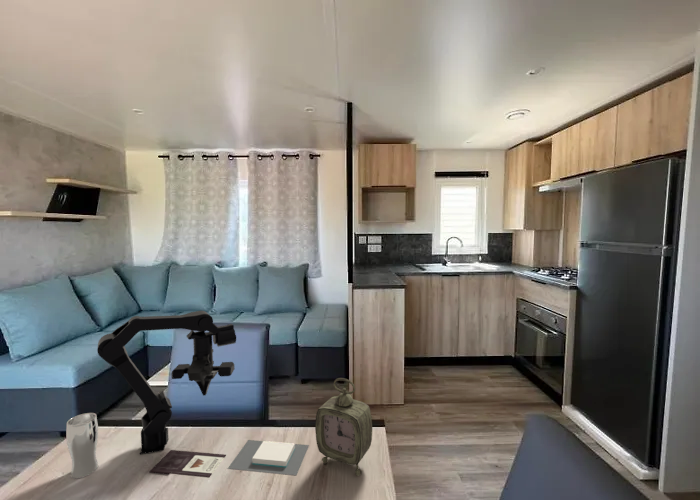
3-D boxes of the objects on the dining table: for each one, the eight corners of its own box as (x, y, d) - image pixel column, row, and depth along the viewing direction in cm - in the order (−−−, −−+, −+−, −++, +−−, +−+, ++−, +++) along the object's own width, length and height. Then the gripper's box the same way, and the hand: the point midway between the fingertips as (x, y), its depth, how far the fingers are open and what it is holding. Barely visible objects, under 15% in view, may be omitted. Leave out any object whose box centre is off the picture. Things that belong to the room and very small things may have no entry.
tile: (252, 458, 96) (285, 461, 94) (263, 440, 104) (294, 443, 102) (252, 464, 96) (286, 467, 94) (263, 446, 104) (294, 449, 102)
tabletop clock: (315, 465, 96) (314, 379, 94) (332, 446, 104) (330, 367, 102) (361, 482, 89) (360, 390, 88) (375, 461, 97) (374, 376, 96)
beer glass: (73, 466, 96) (70, 415, 95) (103, 459, 99) (100, 410, 98) (64, 482, 90) (61, 428, 89) (96, 475, 93) (93, 422, 92)
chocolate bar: (170, 449, 102) (226, 454, 100) (171, 452, 102) (226, 457, 100) (149, 471, 93) (209, 476, 91) (149, 474, 94) (209, 480, 91)
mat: (227, 469, 94) (227, 468, 94) (248, 441, 107) (248, 439, 107) (296, 476, 91) (296, 475, 91) (309, 446, 104) (309, 445, 104)
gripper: (162, 359, 103) (164, 409, 104) (225, 357, 105) (227, 405, 106) (177, 347, 114) (179, 392, 115) (234, 345, 116) (235, 389, 117)
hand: (204, 394), depth 113 cm, fingers closed
